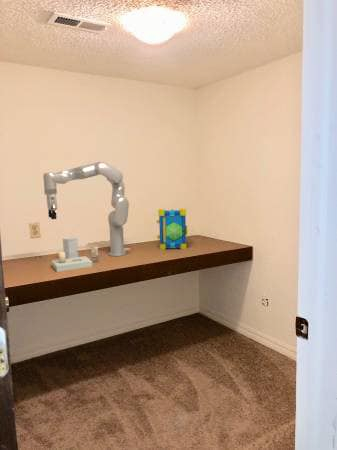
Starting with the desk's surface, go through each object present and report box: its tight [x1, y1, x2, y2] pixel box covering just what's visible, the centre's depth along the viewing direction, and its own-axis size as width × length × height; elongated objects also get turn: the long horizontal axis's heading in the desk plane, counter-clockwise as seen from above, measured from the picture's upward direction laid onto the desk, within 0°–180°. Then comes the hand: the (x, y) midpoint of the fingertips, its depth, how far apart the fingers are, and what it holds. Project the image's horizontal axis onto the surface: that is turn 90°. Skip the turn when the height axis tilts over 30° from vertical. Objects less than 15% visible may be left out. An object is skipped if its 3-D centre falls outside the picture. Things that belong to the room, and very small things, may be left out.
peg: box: [91, 246, 99, 264], centre depth 243 cm, size 4×4×10 cm
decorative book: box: [156, 207, 188, 251], centre depth 277 cm, size 14×23×30 cm, turn 89°
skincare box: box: [62, 236, 79, 259], centre depth 252 cm, size 8×6×15 cm
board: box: [51, 251, 93, 273], centre depth 233 cm, size 22×16×10 cm
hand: (52, 218), depth 238 cm, fingers open, 9 cm apart
